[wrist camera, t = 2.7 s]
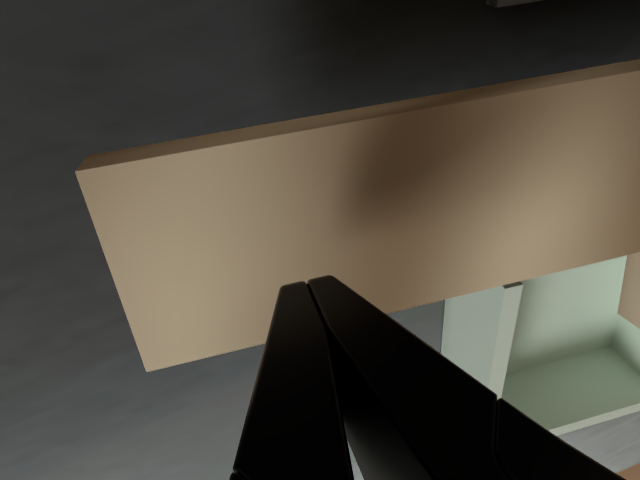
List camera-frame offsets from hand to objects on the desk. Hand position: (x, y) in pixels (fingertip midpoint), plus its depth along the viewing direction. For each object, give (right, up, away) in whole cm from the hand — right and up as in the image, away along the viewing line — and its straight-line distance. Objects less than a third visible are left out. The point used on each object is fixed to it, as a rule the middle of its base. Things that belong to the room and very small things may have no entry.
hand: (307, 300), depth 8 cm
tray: (+10, -1, +13) cm, 16 cm away
